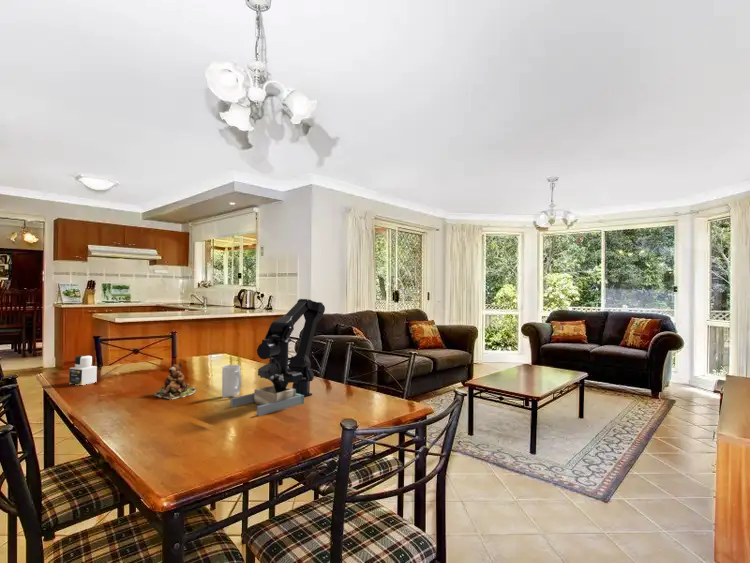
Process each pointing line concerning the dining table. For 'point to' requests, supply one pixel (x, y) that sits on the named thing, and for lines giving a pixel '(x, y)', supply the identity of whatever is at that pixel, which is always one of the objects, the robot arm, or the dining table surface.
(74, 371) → the medicine bottle
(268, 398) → the crate
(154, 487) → the dining table surface
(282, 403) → the bay
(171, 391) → the bear figurine
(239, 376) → the mug
